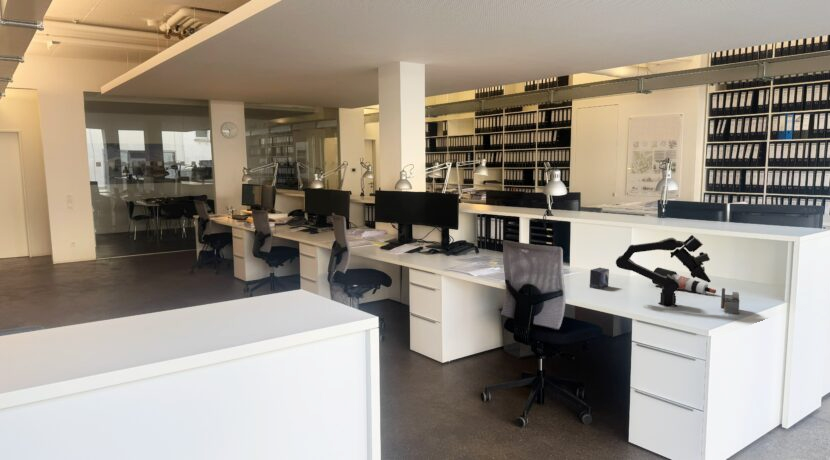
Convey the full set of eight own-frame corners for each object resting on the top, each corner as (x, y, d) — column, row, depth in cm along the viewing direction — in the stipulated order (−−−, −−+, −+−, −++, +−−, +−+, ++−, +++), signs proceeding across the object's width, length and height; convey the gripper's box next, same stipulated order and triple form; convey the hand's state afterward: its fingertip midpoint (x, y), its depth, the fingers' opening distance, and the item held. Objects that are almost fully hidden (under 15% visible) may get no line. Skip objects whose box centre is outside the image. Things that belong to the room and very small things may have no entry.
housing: (724, 312, 269) (726, 294, 268) (723, 307, 278) (724, 290, 277) (738, 314, 266) (739, 295, 265) (736, 309, 275) (738, 291, 274)
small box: (599, 289, 320) (599, 271, 318) (589, 287, 324) (589, 269, 323) (609, 286, 326) (609, 268, 325) (598, 284, 331) (599, 267, 330)
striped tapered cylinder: (711, 304, 302) (710, 289, 297) (652, 287, 328) (650, 273, 323) (720, 293, 306) (719, 279, 302) (661, 277, 332) (660, 264, 327)
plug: (720, 310, 272) (722, 288, 271) (720, 308, 276) (721, 287, 275) (736, 311, 269) (737, 290, 268) (735, 309, 273) (736, 288, 272)
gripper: (699, 250, 266) (724, 274, 263) (699, 244, 283) (722, 267, 280) (680, 265, 271) (705, 289, 267) (681, 259, 288) (704, 282, 284)
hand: (710, 281), depth 274 cm, fingers closed
